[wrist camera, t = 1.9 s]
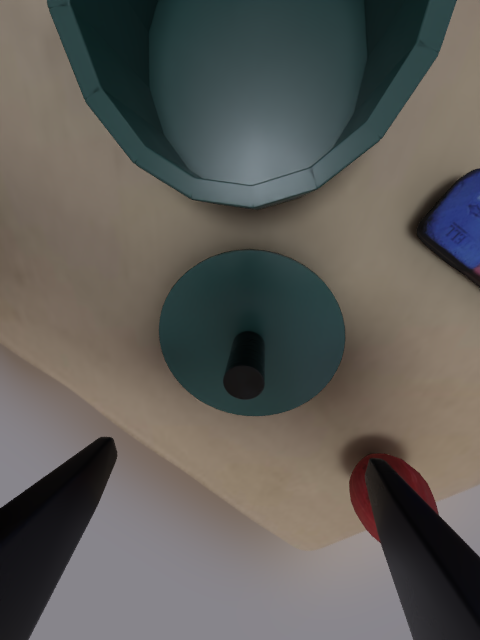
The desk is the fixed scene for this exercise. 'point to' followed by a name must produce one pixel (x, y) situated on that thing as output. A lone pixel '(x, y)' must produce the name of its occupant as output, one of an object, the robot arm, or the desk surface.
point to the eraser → (456, 226)
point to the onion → (361, 494)
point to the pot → (248, 85)
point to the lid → (252, 332)
